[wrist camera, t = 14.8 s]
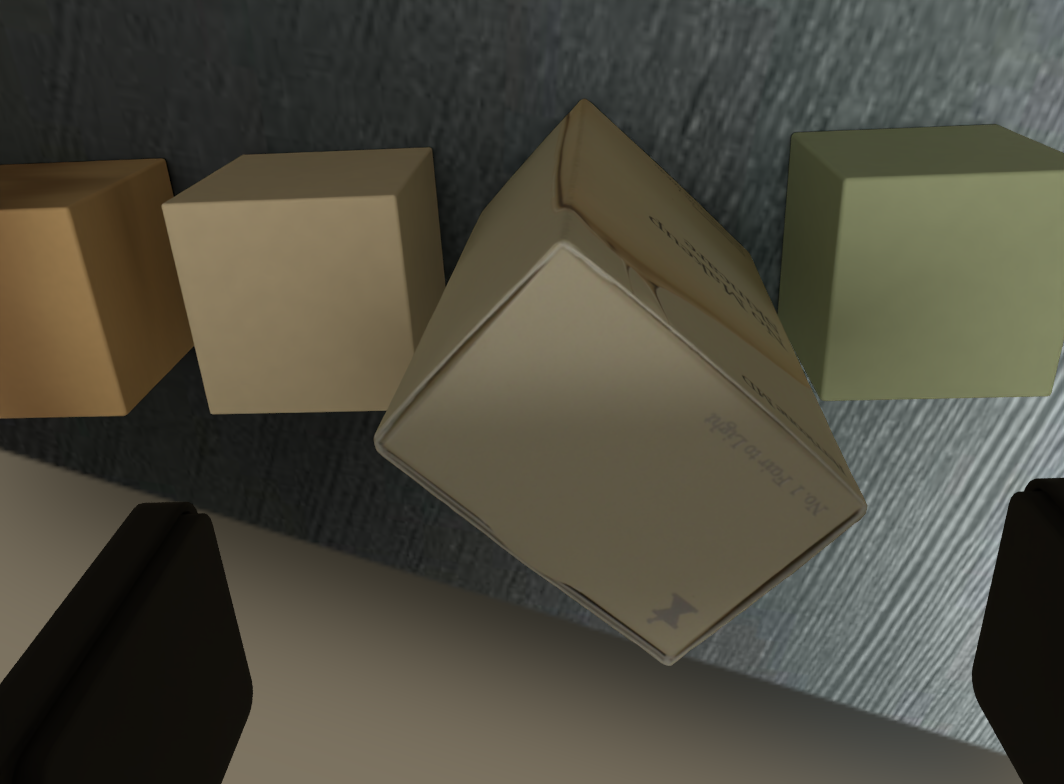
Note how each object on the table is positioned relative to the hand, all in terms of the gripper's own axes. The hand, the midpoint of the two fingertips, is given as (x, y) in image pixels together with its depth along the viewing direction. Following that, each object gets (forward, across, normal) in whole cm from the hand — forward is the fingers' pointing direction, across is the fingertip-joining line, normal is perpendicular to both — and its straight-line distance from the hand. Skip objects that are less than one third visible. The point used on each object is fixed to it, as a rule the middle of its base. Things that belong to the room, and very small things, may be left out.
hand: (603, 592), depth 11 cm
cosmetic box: (+15, -1, 0) cm, 15 cm away
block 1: (+15, +13, 0) cm, 20 cm away
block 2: (+15, +6, 0) cm, 16 cm away
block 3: (+14, -8, 0) cm, 16 cm away
